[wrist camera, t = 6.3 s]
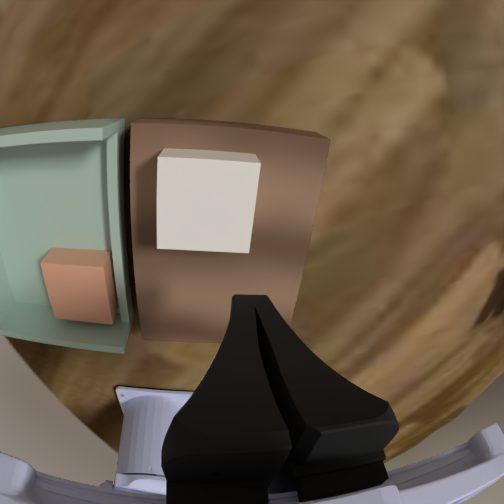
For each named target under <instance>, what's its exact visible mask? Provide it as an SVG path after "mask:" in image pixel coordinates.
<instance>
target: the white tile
mask: <svg viewBox="0 0 504 504" xmlns="http://www.w3.org/2000/svg"><path fill="white" fill-rule="evenodd" d="M260 167H261V163H260V161H259V159H258V158H257V156H256V154H249V153H238V152H225V151H211V150H194V149H171V148H164V149H163V151H162V152H161V153H160V155H159V156H158V162H157V249H173V250H193V251H213V252H233V253H249V250H250V242H251V234H252V227H253V219H254V212H255V204H256V197H257V189H258V182H259V174H260Z"/></svg>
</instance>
